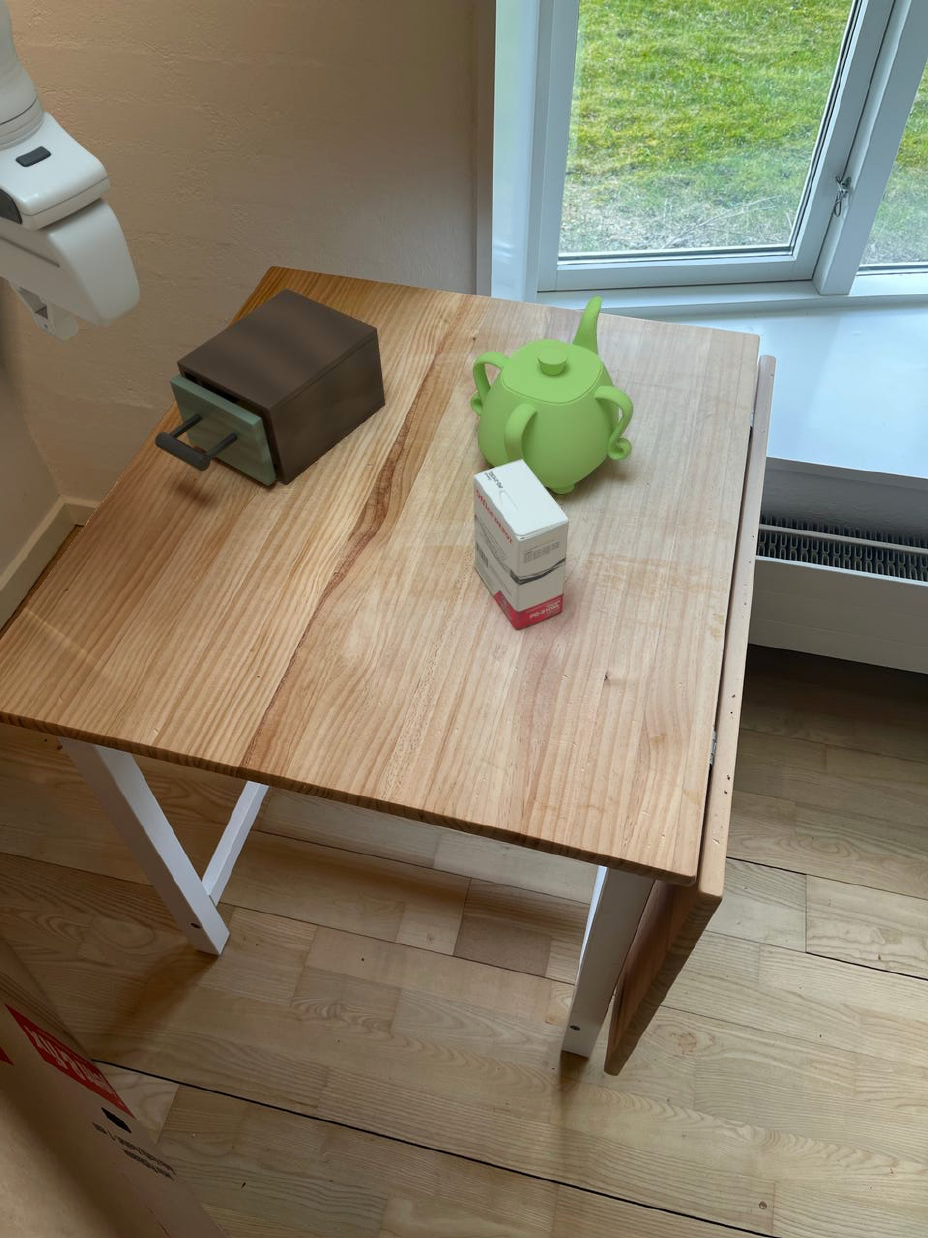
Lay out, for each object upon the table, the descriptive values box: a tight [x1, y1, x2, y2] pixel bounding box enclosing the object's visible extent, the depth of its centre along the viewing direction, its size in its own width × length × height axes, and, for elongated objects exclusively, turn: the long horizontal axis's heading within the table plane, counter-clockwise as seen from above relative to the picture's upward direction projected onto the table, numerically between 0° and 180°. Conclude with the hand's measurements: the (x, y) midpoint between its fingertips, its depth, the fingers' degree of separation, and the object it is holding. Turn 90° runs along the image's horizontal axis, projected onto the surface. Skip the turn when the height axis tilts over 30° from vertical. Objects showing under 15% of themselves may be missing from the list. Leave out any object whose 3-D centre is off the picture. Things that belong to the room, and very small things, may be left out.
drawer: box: [154, 374, 277, 487], centre depth 95 cm, size 20×11×8 cm, turn 143°
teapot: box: [470, 295, 634, 495], centre depth 93 cm, size 16×14×13 cm
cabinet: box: [176, 287, 386, 486], centre depth 98 cm, size 16×13×10 cm
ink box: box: [473, 459, 570, 630], centre depth 81 cm, size 8×5×12 cm, turn 26°
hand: (59, 331), depth 73 cm, fingers closed
